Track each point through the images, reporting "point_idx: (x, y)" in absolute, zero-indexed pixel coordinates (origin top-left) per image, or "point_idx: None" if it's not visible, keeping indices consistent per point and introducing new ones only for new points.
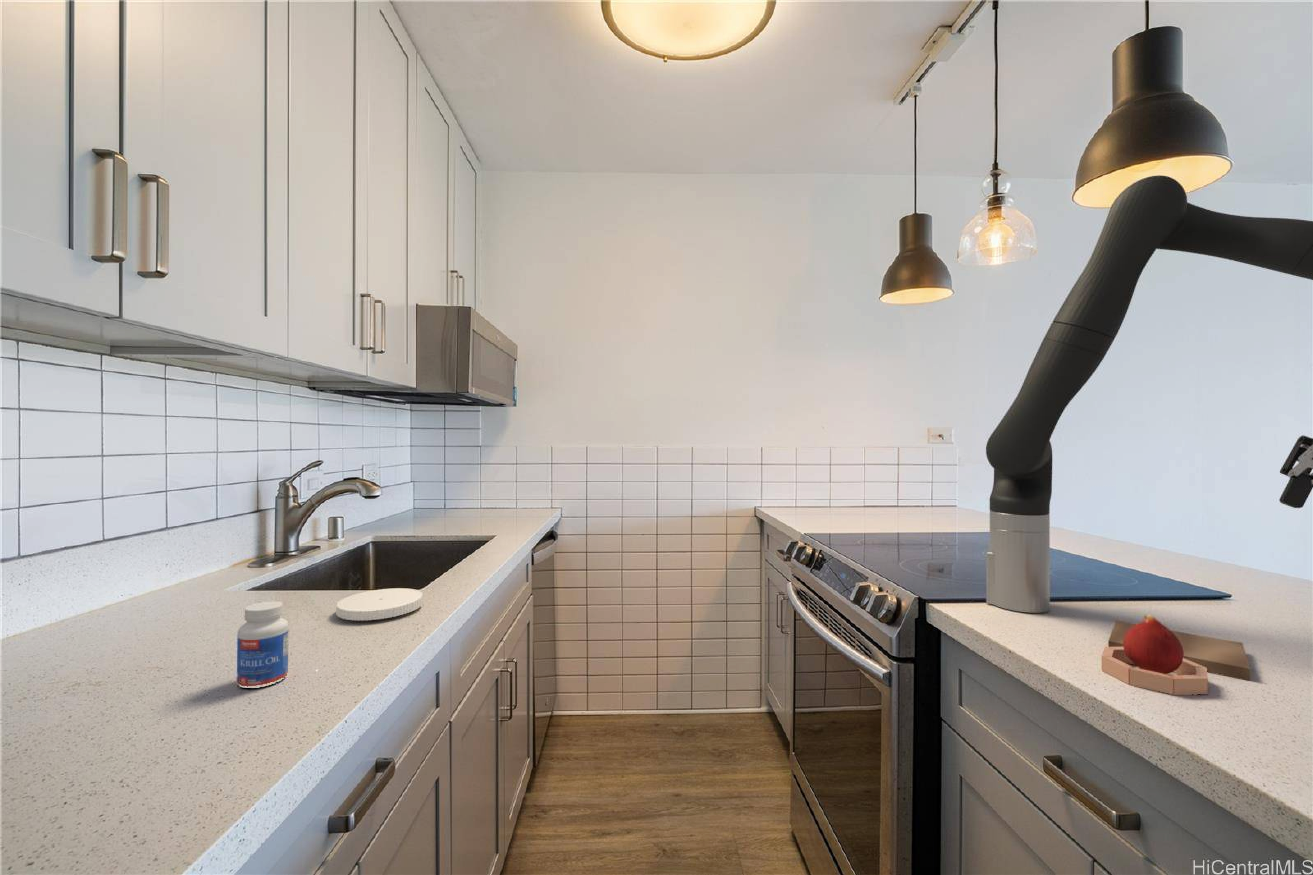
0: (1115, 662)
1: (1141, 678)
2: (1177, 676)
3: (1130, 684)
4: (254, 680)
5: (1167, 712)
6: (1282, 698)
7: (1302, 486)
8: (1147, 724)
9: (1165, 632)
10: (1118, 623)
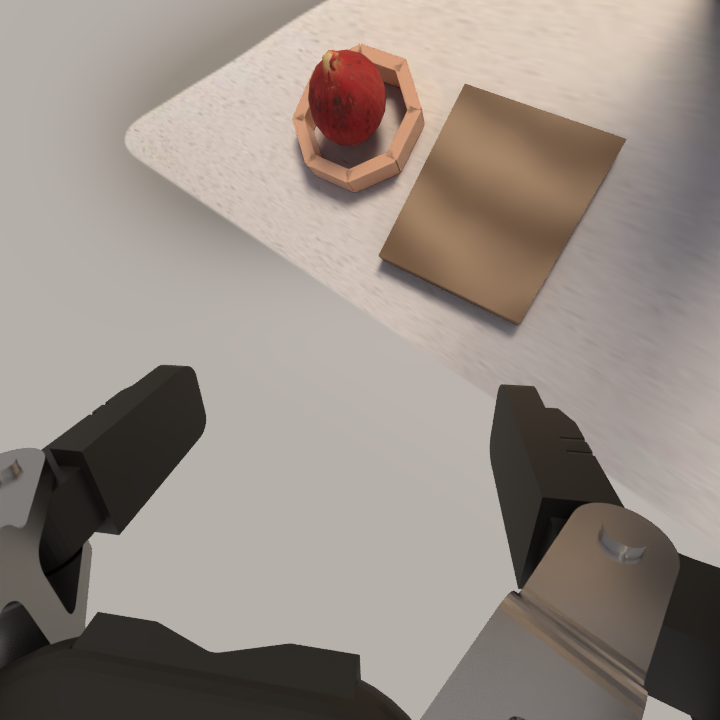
0: None
1: None
2: (301, 126)
3: None
4: None
5: (252, 104)
6: (329, 265)
7: (515, 511)
8: (217, 71)
9: (313, 88)
10: (600, 137)
